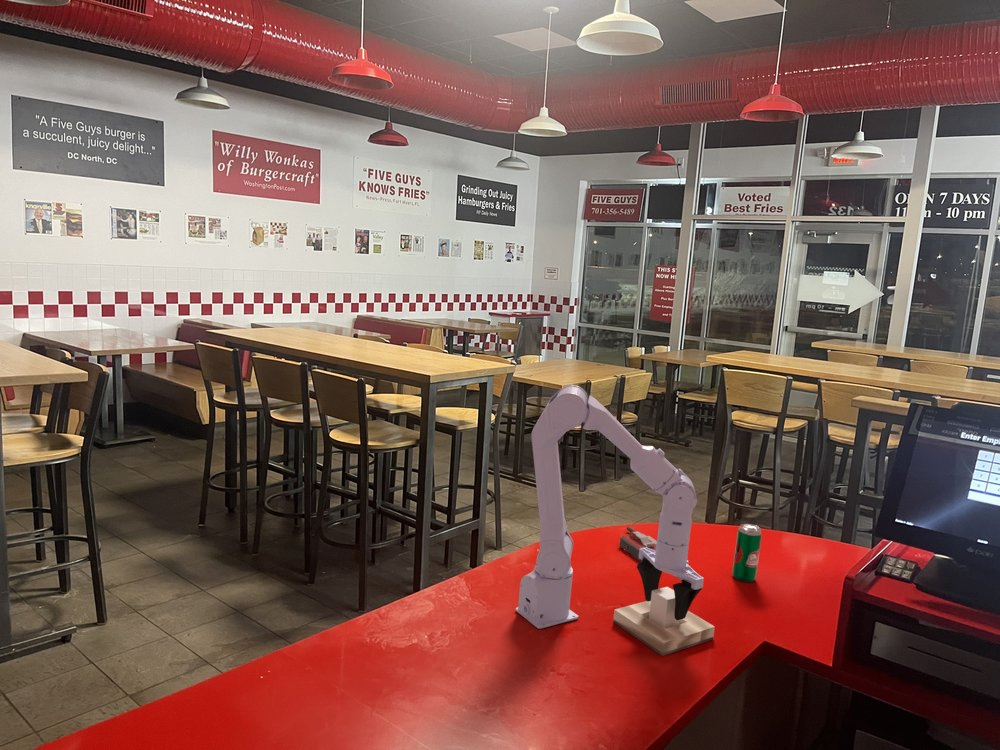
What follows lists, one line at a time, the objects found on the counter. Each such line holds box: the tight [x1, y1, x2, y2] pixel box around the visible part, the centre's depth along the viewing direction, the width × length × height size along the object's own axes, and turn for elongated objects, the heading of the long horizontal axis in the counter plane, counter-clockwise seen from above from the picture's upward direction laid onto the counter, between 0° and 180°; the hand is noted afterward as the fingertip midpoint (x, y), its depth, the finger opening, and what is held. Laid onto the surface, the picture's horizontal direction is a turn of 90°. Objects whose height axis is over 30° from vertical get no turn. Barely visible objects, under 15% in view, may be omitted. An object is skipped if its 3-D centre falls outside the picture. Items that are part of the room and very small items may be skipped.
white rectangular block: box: [649, 586, 680, 629], centre depth 134 cm, size 4×4×7 cm
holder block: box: [613, 600, 715, 657], centre depth 135 cm, size 13×13×2 cm
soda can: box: [731, 523, 763, 583], centre depth 160 cm, size 5×5×12 cm
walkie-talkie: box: [619, 526, 657, 563], centre depth 173 cm, size 9×4×20 cm
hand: (664, 609), depth 134 cm, fingers open, 7 cm apart
